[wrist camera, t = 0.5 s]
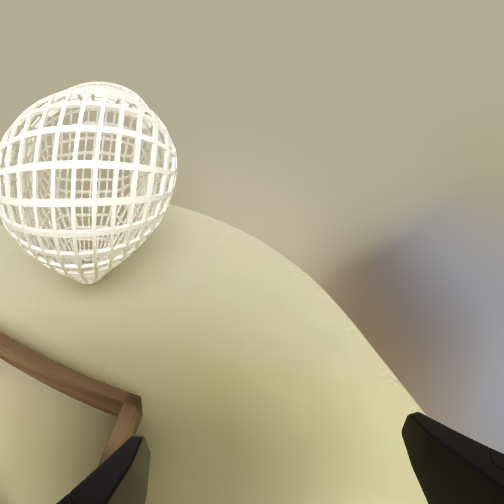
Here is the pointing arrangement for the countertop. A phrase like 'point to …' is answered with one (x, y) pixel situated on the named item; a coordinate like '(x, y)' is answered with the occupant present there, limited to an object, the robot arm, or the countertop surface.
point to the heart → (86, 179)
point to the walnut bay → (78, 390)
